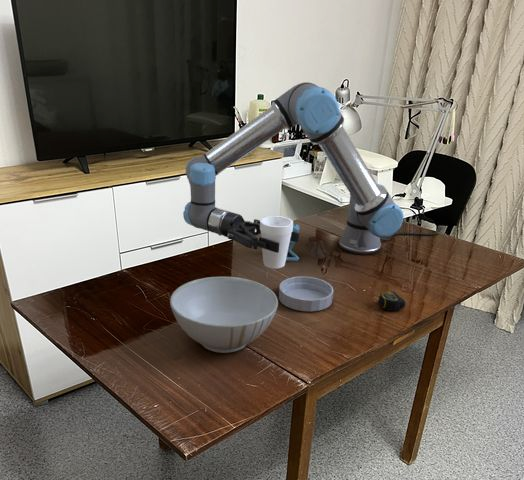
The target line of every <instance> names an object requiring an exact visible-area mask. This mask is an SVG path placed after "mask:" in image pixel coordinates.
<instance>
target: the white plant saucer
mask: <svg viewBox="0 0 524 480" xmlns="http://www.w3.org/2000/svg"><path fill="white" fill-rule="evenodd" d="M334 292H335V291H334V287H333V286H332V285H331V283H329V282H328V281H325V280H323V279H321V278H318V277H313V276H302V275H299V276H292V277H287V278H286V279H284V280H282V281H281V282H280V283H279V288H278V301H280V303H281V304H282V305H283V306H285V307H287V308H289V309H291V310H295V311H300V312H319V311H322V310H323V311H324V310H326V309H328V308H329V307H331V305H332V304H333V299H334Z"/></svg>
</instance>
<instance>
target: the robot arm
mask: <svg viewBox="0 0 524 480" xmlns="http://www.w3.org/2000/svg"><path fill="white" fill-rule="evenodd" d="M344 123H345V117H344V116H343V115H342V112H341V111H340V106H339V103H338V99H337V98H336V96H335V95H334V93H332V92H331V91H330V90H328V89H326V88H324V87H323V86H318V84H315V83H312V82H307V81H305V82H300V83H297V84H296V85H294V86H292V87H291V88H290V89H288V90H286V91H284V93H283V94H281V95H280V96H279V97H277V98H276V99H274V100H273V101H271V105H270V107H269V108H268V109H266V110H264V111H263V112H261V113H260V114H259V115H257V116H256V117H255V118H253V119H252V120H251V121H249V122H248V123H246V124H245V125H244V126H242V127H240V128H239V129H237V130H236V131H235V132H233V133H231V135H229V136H228V137H227V138H225V139H223V140H222V141H221V142H220V143H218V144H217V145H215V146H214V147H212V148H211V149H209V150H208V151H207V152H205V153H204V154H202V155H201V156H199V157H193V158H191V159H190V160H189V161H188V162H187V163H186V165H185V175H186V178H187V180H188V184H189V188H190V189H189V190H190V201H189V202H187V203H186V204H185V206H184V210H183V213H182V215H183V220H184V222H185V223H186V224H187V225H189V226H192V227H194V228H196V229H201V230H204V231H207V232H210V233H214V234H216V235H218V236H220V237H221V236H223V237H226V238H227V239H228V240H231V241H234V242H236V243H238V244H240V245H241V246H243V247H246V248H248V249H253V250H259V249H258V248H260V249H262V248H264V249H267V250H270V251H273V252H276V253H278V252H279V243H278V242H275V241H272V240H268V239H265V238H262V237H261V236H260V237H257V236H259V235H261V230H260V220H261V219H256V218H254V219H253V222H252V221H248V220H245V219H244V217H243V216H242V214H240V213H237V212H233V211H230V210H227V209H223V208H219V207H216V179H217V176H218V175H220V174H221V173H222V172H223V171H226V169H228V168H229V167H231V166H233V165H234V164H235V163H237V162H238V161H239V160H241V159H242V158H244V157H245V156H247V155H248V154H250V153H252V152H253V151H255V149H257V148H258V147H260V146H261V145H263V144H264V143H266V142H268V141H269V140H270V139H272V138H273V137H274V136H276V135H277V134H279V133H280V132H282V131H283V130H287V131H289V130H290V129H292V128H293V127H295V126H297V125H299V126H300V128H301V129H302V131H303V133H304V134H305V135H306V138H308V140H309V141H310V143H311V144H313V145H319V147H320V149H321V150H322V152H323V154H324V155H325V156H326V158H327V159H328V161H329V163H330V165H331V166H332V167H333V169H334V170H335V172H336V174H337V175H338V177H339V178H340V180H341V181H342V183H343V185H344V186H345V188H346V189H347V191H348V192H349V203H348V211H347V219H346V224H345V228H344V230H343V231H342V234H341V236H340V238H339V242H338V246H339V248H340V249H341V250H342V251H344V252H346V253H347V252H348V253H349V254H354V255H364V256H367V255H375V254H377V253H379V252H380V251H381V248H382V241H383V242H388V241H390V240H391V239H392V237H393V236H397V235H408V236H417V235H418V236H435V235H436V234H438V233H439V231H442V227H441V226H438V227H437V229H436V231H434V232H404V231H403V232H402V231H399V230H400V228H401V227H402V225H403V224H402V223H403V222H404V212H403V210H402V208H401V206H399V205H398V204H396V202H394V200H393V198H392V196H391V195H390V193H389V191H388V189H387V188H386V187H385V185H383V184H379V183H377V180H376V179H375V178H374V176H373V174H372V173H371V171H370V169H369V168H368V166H367V164H366V163H365V161H364V159H363V158H362V156H361V155H360V153H359V151H358V150H357V148H356V146H355V145H354V143H353V141H352V140H351V138H350V136H349V135H348V133H347V131H346V130H345V128H344ZM398 231H399V232H398ZM299 240H300V233H299V232H298V233H296V232H292V233H291V238H290V241H293V242H296V243H295V244H298V243H299Z"/></svg>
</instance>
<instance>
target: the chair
mask: <svg viewBox="0 0 524 480" xmlns="http://www.w3.org/2000/svg"><path fill="white" fill-rule="evenodd" d="M299 231H300V224H296V223H295V224H294V225H293V232H296V233H299ZM290 243H291V244H290V245H289V247H288V252H287V253H289V255H291V257H288V256H287V257H286V261H292V262H293V261H295V262H297V261H299V260H300V257H299V256H298V255H297V254H296V253H295V252H294V251H293V250H292V249H293V247H294V246H295V244H297V243H296V242H293V241H290Z"/></svg>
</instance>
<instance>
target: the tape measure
mask: <svg viewBox="0 0 524 480" xmlns="http://www.w3.org/2000/svg"><path fill="white" fill-rule="evenodd" d="M406 305H407V304H406V300H405V299H403V298H402V297H401V296H400V295H398V294H397V293H396V292H395V291H384V292H382V293H380V295H379V297H378V306H380V307H381V308H382V309H384V310H386V311H387V310H388V311H397V310H401V309H402V310H403V309H404V308H405V307H406Z"/></svg>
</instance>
